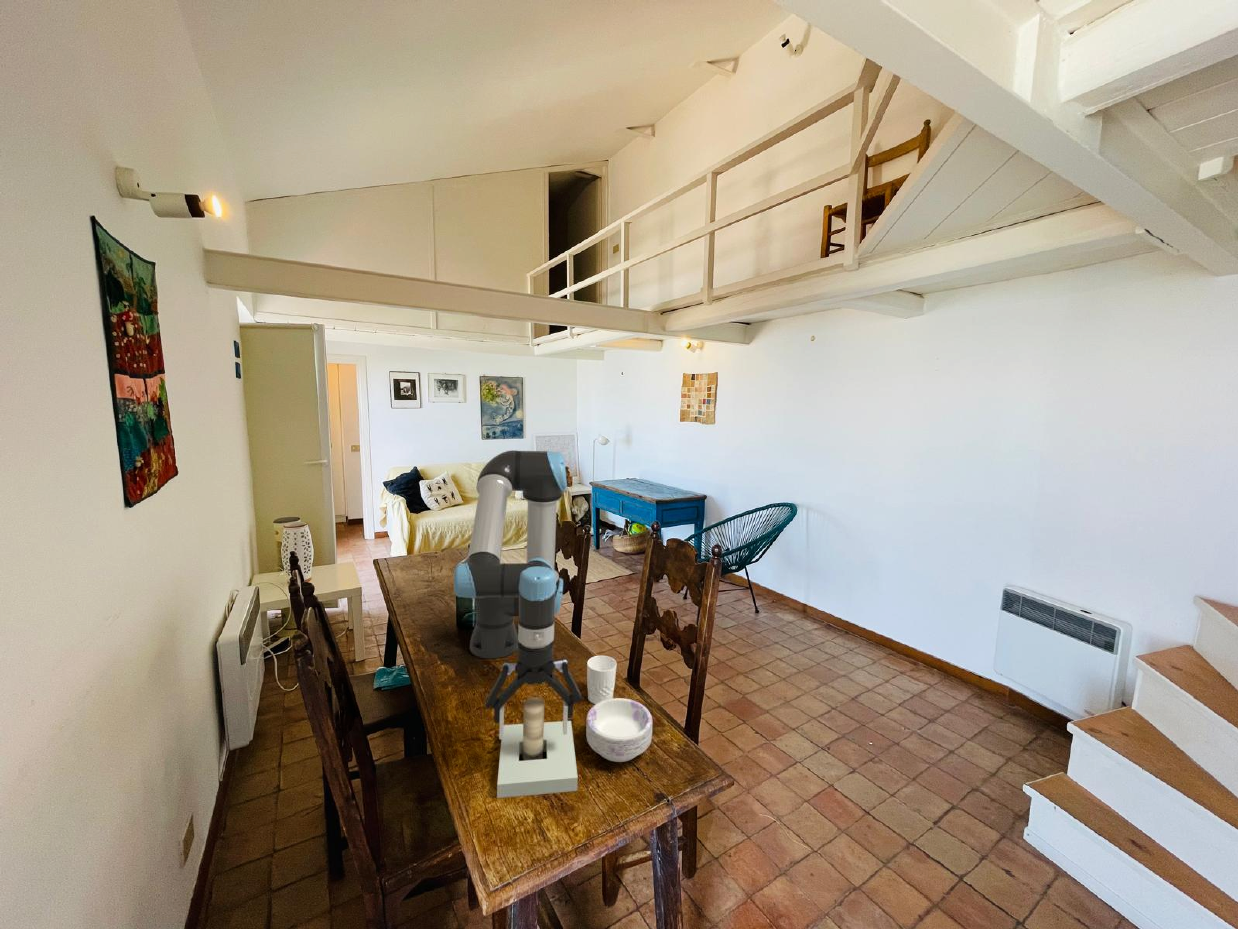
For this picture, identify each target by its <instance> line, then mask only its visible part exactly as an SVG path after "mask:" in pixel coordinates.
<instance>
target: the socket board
mask: <svg viewBox="0 0 1238 929" xmlns="http://www.w3.org/2000/svg"><path fill="white" fill-rule="evenodd" d="M500 740H501V741H500V742H501V743H500V750H499V751H500V752H499V761H498V762H499V763H498V771H497V772H498V773H497V774H498V775H497V784H496V786H497V788H496V790H497V791H496V794H497V795H496V799H501V798H502V799H504V798H513V797H514V798H515V797H524V796H535V795H536V796H537V795H546V794H556V793H557V794H558V793H568V792H569V793H570V792H577V791H578V770H577V769H578V768H577V761H576V752H575V744H574V735H573V727H572V720H567V734H566V735H563V720H562V721H547V722H545V721H544V734H543V746H544V749H543V753H545V754H546V755H545V757H546V758H543V759H539V760H526V761H522V760H520V755H521V754H522V747H523V723H517V724H515V723H514V724H504V733H503V739H500ZM522 755H523V754H522Z"/></svg>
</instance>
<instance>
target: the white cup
mask: <svg viewBox="0 0 1238 929" xmlns="http://www.w3.org/2000/svg"><path fill="white" fill-rule="evenodd" d="M617 664H618V662H617V661H616V660H615V659H614V658H613V657H611V656H608V655H595V656H592V657H590V658H589V659H588V660H587V664H586V673H587V674H586V679H587V681H586V682H587V683H586V684H587V686H586V687H587V699H588V701H589V702H590V703H591V704H594V705H596V704H597V703H599V702H601V701H604V700H607V699H613V698H614V691H615V690H614V689H615V686H616V685H615V684H616V673H617Z"/></svg>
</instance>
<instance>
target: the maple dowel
mask: <svg viewBox="0 0 1238 929" xmlns="http://www.w3.org/2000/svg"><path fill="white" fill-rule="evenodd" d="M523 702H524V703H523V722H522V724H523V747H522V760H521V761H526V760H539V759H544V752H543V749H544V746H543V734H544V723H545V701H544V699H543V698H540V697H530V698H527V699H526V700H525V701H523Z"/></svg>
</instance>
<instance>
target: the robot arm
mask: <svg viewBox="0 0 1238 929" xmlns="http://www.w3.org/2000/svg"><path fill="white" fill-rule="evenodd" d="M567 482H568V481H567V472H566V462H565V456H564V455H563V453H561V452H556V451H549V450H547V451H545V450H543V451H542V450H541V451H540V450H539V451H538V450H516V449H515V450H507V451H503V452H501V453H498V454H497V455H495V456H494V457H493V458H491V459H490V460H489V461H488V462H487V463H486V464H485V465H484V467H483V468H482V470H481V471H480V473H479V475H478V478H477V482H476V491H477V492H476V493H477V494H478V498H477V504H476V509H475V516H474V520H473V525H472V532H471V537H470V544H469V549H468V553H467V561H466V562H464V563H458V564H457V565H456V566H455V568H454V573H453V585H452V586H453V592H454V594H455V596H456V597H459V598H469V599H475V608H476V609H475V625H474V629H473V631H472V634H471V638H470V640H469V651H470V653H471V654H472V655H474V656H475V657H479V658H482V659H500V658H503V657H504V658H505V657H507V656H510V655H511V654H513V653H515V652H516V651H517V659H516V660H517V661H516V662H515V663H510V662H509V661H508V660H503V662H502V668H501V669H502V670H501V671H500V673H499V675H498V677H497V679H496V680H495V682H494V684H493V685H492V688H491V690H490V692H489V693H488V695H487V697H486V702H485V708H486V709H490V708H492V709H493V710H494V712H493V713H494V715H493V716H494V719H493V721H494V724H499V736H498V738H499V740H501V739H503V733H504V725H505V724H504V723H505V704H506V702H508V701H509V700H510V699H511V698H512V696H513V695H515V693H516V691H518V690H519V689H520V688H521V687H522V686H523V685H524V684H527V685H528V686H529V685H530V686H531V685H534V684H536V685H542V684H543V683H546V684H547V685H548V686H549V687H551V688H552V689H553V690H554V691H555V692H556V694H558V696H559V697H560V698H561V699H562V700H563V707H562V708H563V709H562V710H563V711H562V721H563V735H566V734H567V721H568V719H571V718H573V716H574V715H573V713H574V707H575V706H574V704H576V703H579V704H580V703H582V693H581V691H580V689H579V686H578V684H577V683H576V681H575V678H574V677H573V675H572V673H571V671H570V669H569V668H568V667H569V666H568V660H567V659H568V658H566V657H562V658H561V660H558V661H557V660H556V661H555V660H554V648H555V647H554V644H555V642H554V639H555V616H556V615H557V614H558V613H559V612H560V609H561V604H562V600H563V592H564V591H563V590H564V579H563V578H562V577H559V576H560V575H559V573H558V571H557V570H555V561H556V559H555V558H556V557H555V556H556V532H557V530H556V529H557V512H558V510H557V506H558V502H559V501H560V500H562V498H563V493H566V492H568V483H567ZM512 491H513V492H514V491H515V492H517V491H518V492H522V498H523V499H524V500H525V501H526V502H527V519H526V520H527V524H526V525H527V527H526V530H527V531H526V532H527V533H526V563H525V562H524V563H521V562H519V563H517V562H516V563H513V562H512V563H511V562H509V563H506V562H505V563H504V562H503V563H501V562H502V561H501V558H502V549H503V541H504V531H505V523H506V513H507V507H508V498H509V497H510V495H511V494H512ZM514 617H518V625H517V627H518V629H516V628H517V627H516V625H515V622H514V621H515V618H514ZM556 669H557V670H558V672H560V673H562V677H563V678H564V680H565V682H566V684H567V687H568V688H569V690H570V691H569V690H568V689H567V688H566V687H565V686H564V684H562V683H561V682H560V681H559V679H558V678H557V677H556V676H555V674H554V673H553V672H555V670H556ZM513 671H515V673H516V676H515V677H514V679H513V680H512V681H511V682H510V683H509V684H507V687H506V688H505V689H504V690H502V692H501V693H500V691H501V689H502V687H503V686H504V684H505V682H506V681H507V678H508V676H509V675H511V674H512V672H513ZM499 693H500V694H499ZM497 696H498V697H497Z"/></svg>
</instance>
